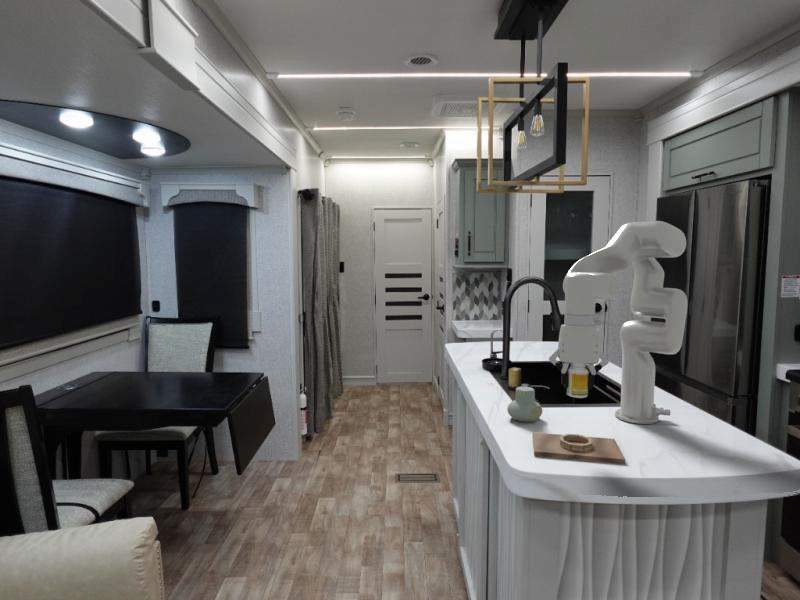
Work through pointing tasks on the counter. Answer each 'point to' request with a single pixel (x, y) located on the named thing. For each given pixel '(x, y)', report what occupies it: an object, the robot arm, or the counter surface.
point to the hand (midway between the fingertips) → (577, 387)
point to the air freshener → (525, 405)
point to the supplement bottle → (577, 380)
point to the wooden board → (577, 447)
